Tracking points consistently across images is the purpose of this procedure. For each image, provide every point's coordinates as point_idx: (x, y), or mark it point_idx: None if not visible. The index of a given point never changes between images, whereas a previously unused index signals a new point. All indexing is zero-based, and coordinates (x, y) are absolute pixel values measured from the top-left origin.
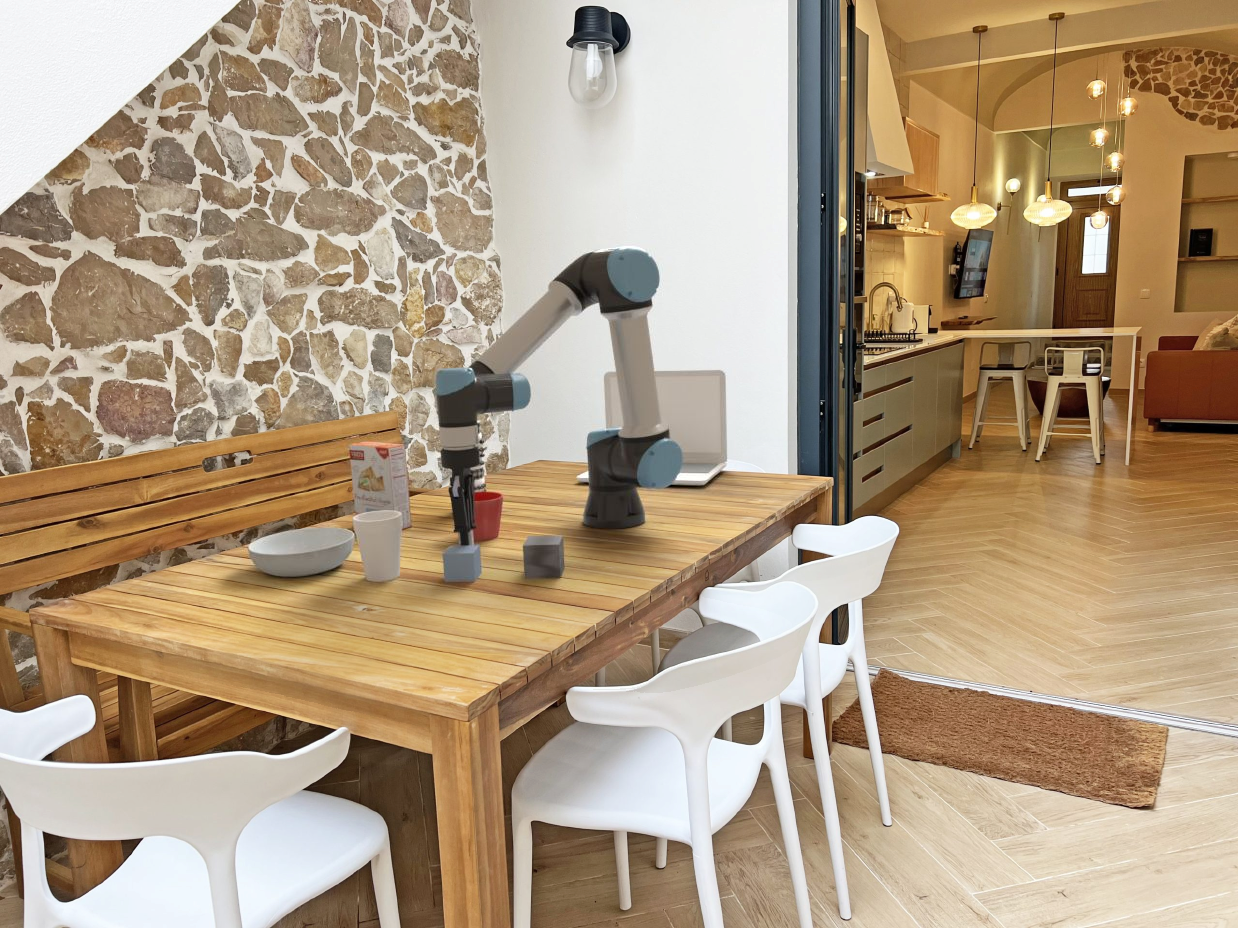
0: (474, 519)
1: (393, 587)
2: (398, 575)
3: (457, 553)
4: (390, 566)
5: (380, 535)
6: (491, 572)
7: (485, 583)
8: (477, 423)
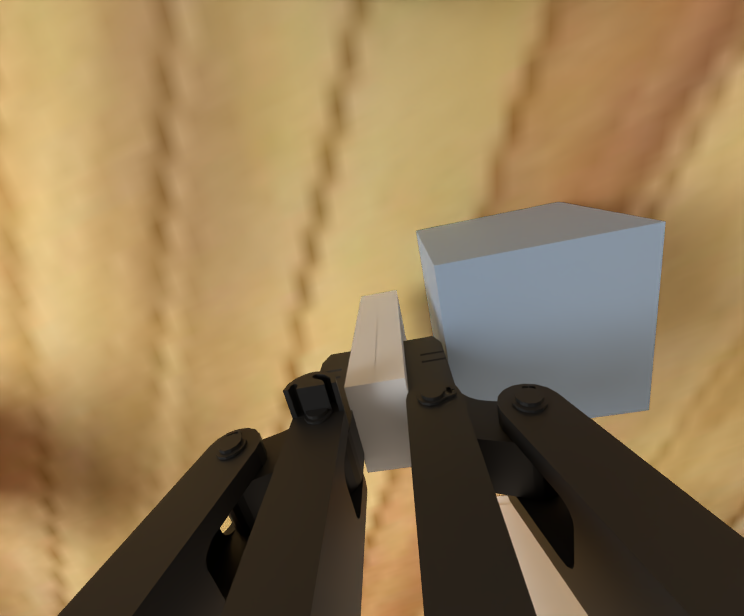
0: (219, 454)
1: None
2: (505, 506)
3: (652, 329)
4: None
5: None
6: (385, 194)
7: (565, 148)
8: None
